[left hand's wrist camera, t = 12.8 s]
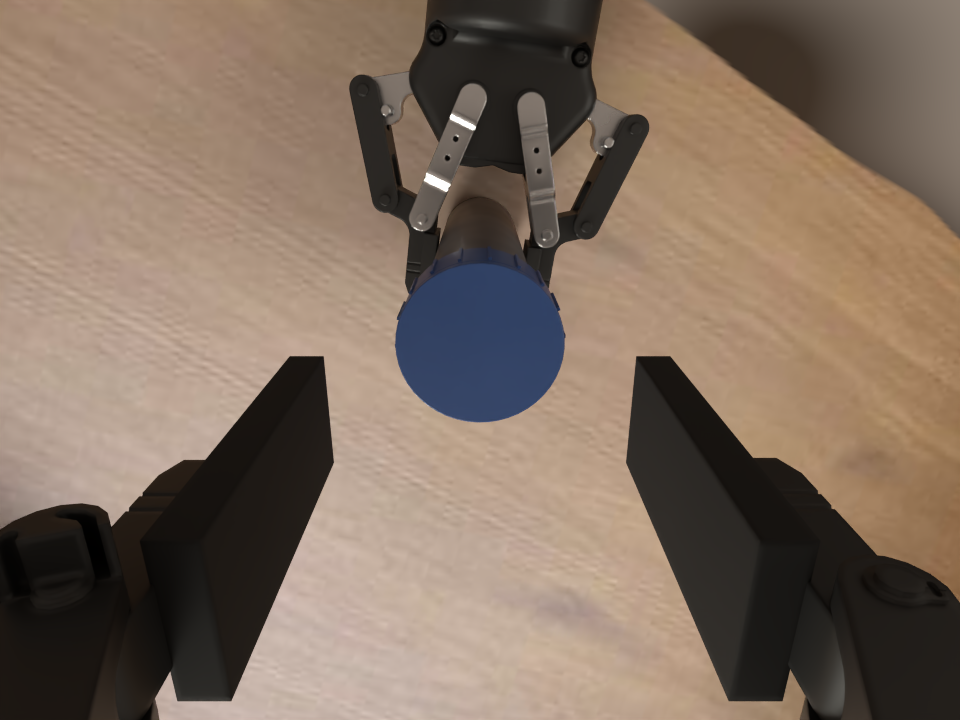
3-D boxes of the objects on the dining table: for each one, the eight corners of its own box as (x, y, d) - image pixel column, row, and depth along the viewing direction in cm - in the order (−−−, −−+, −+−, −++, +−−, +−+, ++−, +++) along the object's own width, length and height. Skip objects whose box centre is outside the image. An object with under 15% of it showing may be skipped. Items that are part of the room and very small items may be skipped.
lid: (426, 408, 22) (420, 440, 19) (383, 265, 20) (371, 283, 18) (570, 376, 21) (580, 405, 19) (539, 227, 19) (547, 241, 17)
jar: (455, 274, 38) (431, 417, 20) (437, 206, 37) (394, 292, 18) (521, 258, 38) (560, 388, 19) (506, 189, 36) (533, 259, 18)
